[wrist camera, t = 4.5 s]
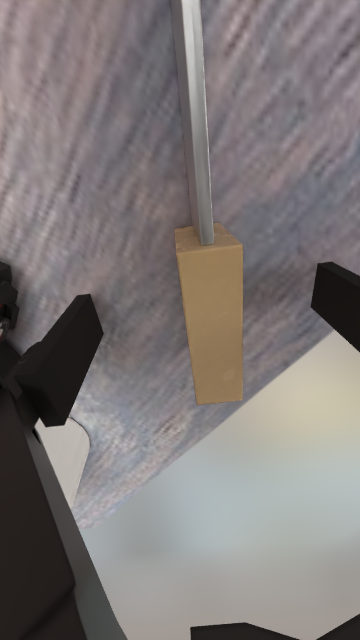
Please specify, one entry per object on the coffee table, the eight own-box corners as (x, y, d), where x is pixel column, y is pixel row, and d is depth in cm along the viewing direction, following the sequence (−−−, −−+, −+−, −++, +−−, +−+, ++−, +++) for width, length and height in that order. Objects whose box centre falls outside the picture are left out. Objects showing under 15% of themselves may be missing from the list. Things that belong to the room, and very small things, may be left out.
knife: (224, 343, 17) (242, 400, 13) (190, 347, 17) (196, 405, 13) (199, -230, 7) (247, -915, 3) (115, -212, 7) (26, -845, 3)
